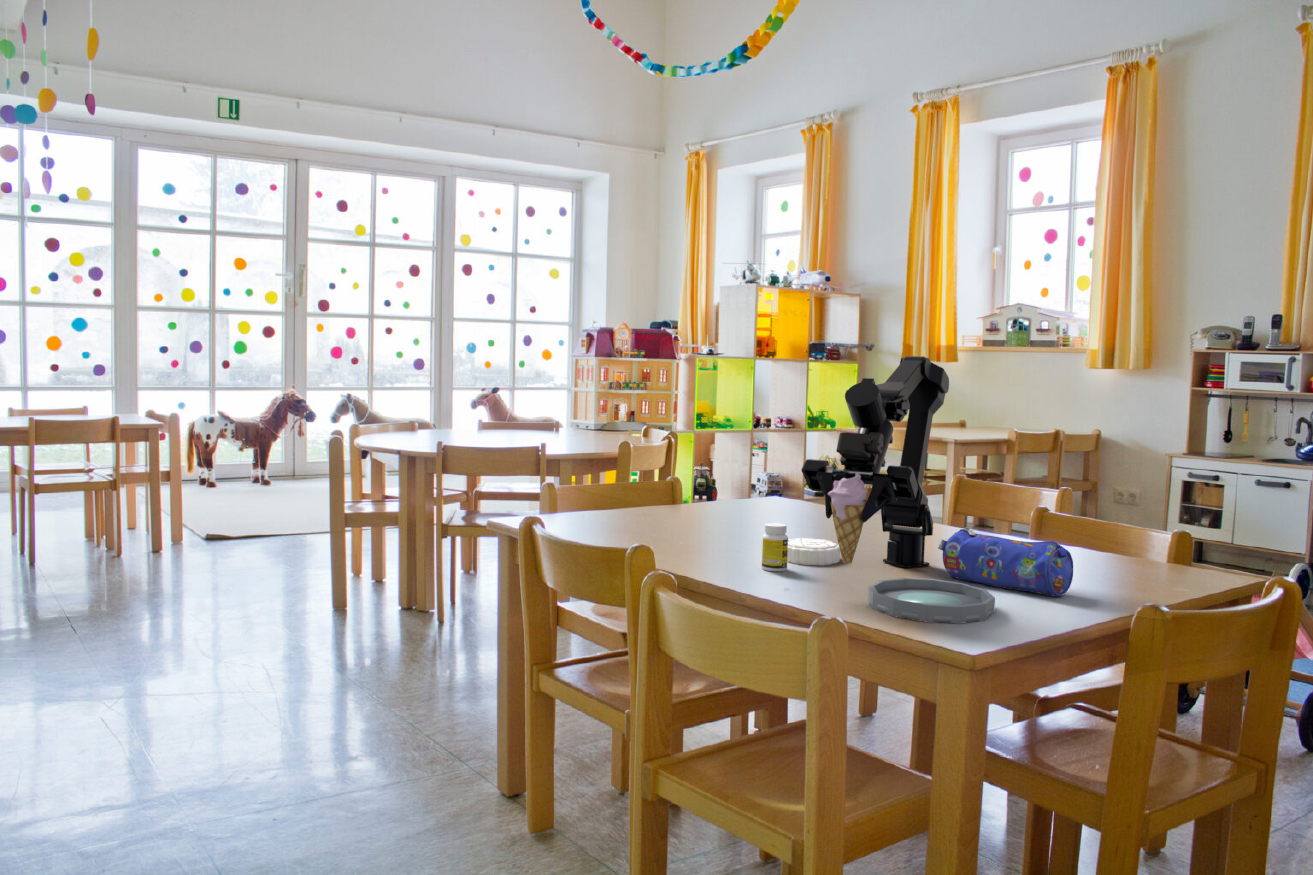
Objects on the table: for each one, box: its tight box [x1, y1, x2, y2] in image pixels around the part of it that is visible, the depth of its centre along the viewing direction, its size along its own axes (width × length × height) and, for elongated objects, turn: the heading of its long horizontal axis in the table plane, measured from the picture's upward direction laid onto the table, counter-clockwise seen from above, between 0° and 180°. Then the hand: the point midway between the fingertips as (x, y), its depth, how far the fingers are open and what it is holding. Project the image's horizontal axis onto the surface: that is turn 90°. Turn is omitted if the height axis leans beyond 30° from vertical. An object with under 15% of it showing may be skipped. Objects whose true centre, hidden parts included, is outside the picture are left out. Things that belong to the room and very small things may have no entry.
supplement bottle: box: [761, 522, 789, 572], centre depth 180 cm, size 5×5×8 cm
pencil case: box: [937, 526, 1074, 598], centre depth 170 cm, size 22×9×10 cm, turn 43°
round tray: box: [867, 577, 996, 624], centre depth 154 cm, size 19×19×2 cm
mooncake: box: [787, 537, 841, 566], centre depth 191 cm, size 12×12×4 cm
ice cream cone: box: [828, 473, 869, 565], centre depth 158 cm, size 7×6×15 cm
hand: (845, 518), depth 157 cm, fingers closed on ice cream cone, 6 cm apart
